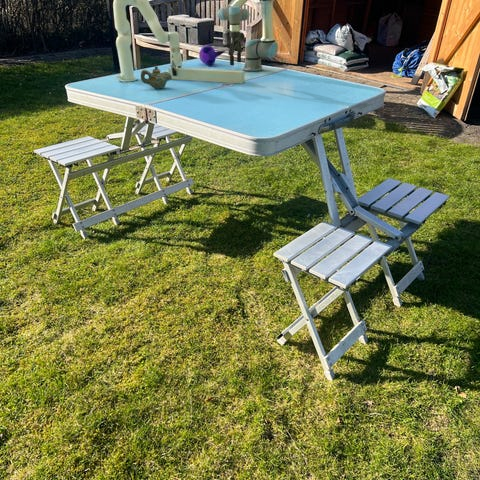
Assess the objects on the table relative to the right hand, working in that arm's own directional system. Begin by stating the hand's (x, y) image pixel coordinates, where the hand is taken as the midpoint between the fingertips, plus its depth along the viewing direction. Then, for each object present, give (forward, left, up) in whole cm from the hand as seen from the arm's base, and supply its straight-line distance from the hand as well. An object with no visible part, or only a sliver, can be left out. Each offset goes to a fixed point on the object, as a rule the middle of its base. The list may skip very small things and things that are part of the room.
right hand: (235, 63), depth 323 cm
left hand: (-5, -48, -10) cm, 50 cm away
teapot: (+32, -48, -13) cm, 59 cm away
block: (-3, -24, -13) cm, 28 cm away
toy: (-68, -42, -13) cm, 81 cm away
